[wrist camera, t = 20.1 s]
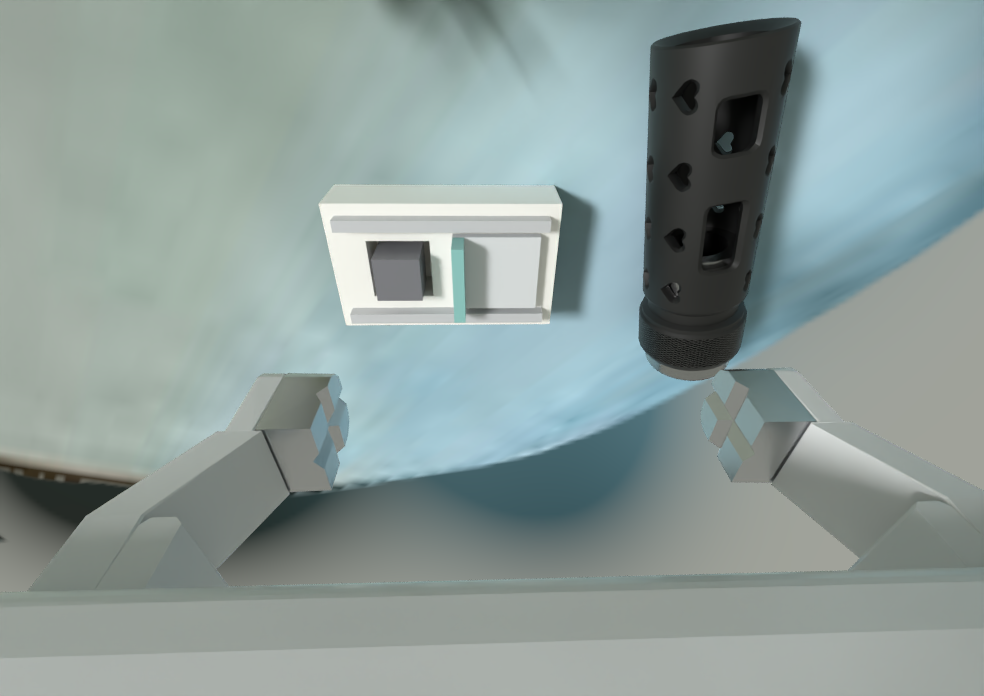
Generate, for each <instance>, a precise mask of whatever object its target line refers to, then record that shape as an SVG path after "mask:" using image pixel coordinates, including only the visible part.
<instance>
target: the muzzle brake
mask: <svg viewBox="0 0 984 696" xmlns="http://www.w3.org/2000/svg"><path fill="white" fill-rule="evenodd" d="M800 27H801V21H800V20H799V19H796V18H769V19H759V20H751V21H743V22H736V23H730V24H724V25H718V26H713V27H708V28H703V29H698V30H694V31H689V32H684V33H680V34H677V35H673V36H669V37H666V38H663V39H660V40H658V41H656V42H654V43H653V44H652V45H651V53H650V84H649V116H648V148H647V179H646V211H645V243H644V274H643V291H644V294H645V297H644V299H643V301H642V302H641V305H640V308H639V342H640V345H641V347H642V348H643V350H644V351H645V352H646V357H647V360H648V361H649V363H650V364H651V366H653V367H654V368H655V369H656V370H657V371H659V372H660V373H662V374H664V375H667V376H669V377H672V378H676V379H681V380H690V381H696V380H704V379H709V378H711V377H714V376H715V375H716V374H717V373H718V372H719V371H720V370H724V369H725V368H726V366H727V364H728V362H729V360H731V359H732V358H733V357H734V356H735V355H736V354H737V352H738V350H739V348H740V346H741V341H742V337H743V332H744V327H745V322H746V315H747V311H746V308H745V305H744V302H743V300H744V299H745V297H746V296H747V294H748V289H749V284H750V279H751V273H752V269H753V264H754V259H755V254H756V249H757V244H758V239H759V234H760V228H761V223H762V218H763V213H764V208H765V203H766V198H767V193H768V188H769V183H770V178H771V173H772V168H773V163H774V157H775V153H776V148H777V143H778V138H779V133H780V128H781V123H782V117H783V112H784V107H785V102H786V97H787V92H788V87H789V82H790V76H791V71H792V67H793V62H794V57H795V52H796V47H797V42H798V37H799V32H800ZM726 132H731V133H733V135H734V139H733V141H732V142H731V146H732V150H731V151H730V152H725V151H724V150H723V149H722V148H721V146H720V145H719V144H718V143H717V141H718V140H719V139H720V138H721V137H722V136H723V135H724V134H725V133H726ZM719 205H723V206H724V208H723V209H718V208H716V206H719Z"/></svg>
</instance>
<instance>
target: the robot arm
mask: <svg viewBox="0 0 984 696" xmlns="http://www.w3.org/2000/svg"><path fill="white" fill-rule="evenodd" d="M711 384H712V386H713V388H714V390H715V392H713V393H712V394H711V395H709V396H708V397H707V398H706V399H705V400H704V403H703V406H702V409H701V424H702V427H703V431H704V433H705V435H706V437H707V439H708V440H709V441H710V442H712V443H713V444H714V445H716V446H717V447H719V448H720V450H719V453H718V456H717V457H718V459H719V461H720V462H721V464H722V466H723V468H724V470H725V471H726V473H727V475H728V477H729V479H730V480H731V482H754V483H759V482H761V483H772V484H771V485H772V486H774V487H775V488H776V489H777V490H778V491H780V492H781V493H782V494H783V495H784V496H786V497H787V498H788V499H789V500H790V501H792V502H793V503H794V504H795V505H796V506H798V507H799V508H800V509H801V510H802V511H804V512H805V513H806V514H807V515H808V516H810V517H811V518H812V519H813V520H815V521H816V522H817V523H818V524H819V525H821V526H822V527H823V528H824V529H825V530H827V531H828V532H829V533H830V534H831V535H833V536H834V537H835V538H836V539H837V540H839V541H840V542H841V543H842V544H843V545H845V546H846V547H847V548H848V549H849V550H851V551H852V552H853V553H854V554H855V555H857V556H858V557H859V558H860V559H859V560H858V561H857V562H856V563H855V564H854V565H853V566H852V567H851V568H850V569H849V570H848V571H815V572H814V571H813V572H812V571H811V572H774V573H773V572H772V573H735V574H699V575H697V574H695V575H656V576H618V577H579V578H542V579H508V580H507V579H505V580H470V581H469V580H467V581H429V582H390V583H389V582H388V583H350V584H314V585H313V584H311V585H271V586H235V587H233V586H232V587H229V586H228V584H227V583H226V582H225V580H224V579H223V578H222V576H221V575H220V574H219V572H218V571H217V570H216V569H217V568H218V567H219V566H220V565H221V564H222V563H223V562H224V561H225V560H226V559H227V558H228V557H229V556H230V555H231V554H232V553H233V552H234V551H235V550H236V549H237V547H239V546H240V545H241V544H242V543H243V542H244V540H246V538H247V537H248V536H249V535H250V534H251V533H252V532H253V531H254V530H255V529H256V528H257V527H258V526H259V525H260V524H261V523H262V522H263V521H264V520H265V519H266V518H267V517H268V516H269V515H270V514H271V513H272V512H273V510H275V508H276V507H278V506H279V504H280V503H281V502H282V501H283V500H284V499H285V498H286V497H287V496H288V495H289V492H297V491H319V490H332V487H333V483H334V480H335V477H336V474H337V470H338V467H339V464H340V462H339V459H338V456H337V453H338V452H339V451H340V450H341V449H342V448H343V447H344V446H345V444H346V440H347V437H348V429H349V415H348V409H347V405H346V403H345V402H344V401H343V400H341V399H340V398H339V396H340V393H341V390H342V386H341V383H340V379H339V376H337V375H336V374H298V373H288V374H262V375H260V376H259V377H258V378H257V379H256V380H255V382H254V384H253V385H252V387H251V389H250V390H249V392H248V394H247V395H246V397H245V399H244V400H243V402H242V404H241V405H240V407H239V409H238V410H237V412H236V414H235V415H234V417H233V418H232V420H231V422H230V423H229V425H228V427H227V428H226V430H225V431H217V432H215V433H214V434H212V435H211V436H209V437H208V438H206V439H204V440H203V441H201V442H200V443H198V444H197V445H195V446H194V447H192V448H191V449H189V450H187V451H186V452H184V453H183V454H181V455H180V456H178V457H177V458H175V459H174V460H172V461H170V462H169V463H167V464H166V465H164V466H163V467H161V468H160V469H158V470H157V471H155V472H153V473H152V474H150V475H149V476H147V477H146V478H144V479H143V480H141V481H140V482H138V483H136V484H135V485H133V486H132V487H130V488H129V489H127V490H126V491H124V492H122V493H121V494H119V495H118V496H116V497H115V498H113V499H112V500H110V501H109V502H107V503H105V504H104V505H102V506H101V507H99V508H98V509H96V510H95V511H93V512H92V513H90V514H89V515H87V516H86V517H85V518H84V519H83V520H82V522H81V523H80V524H79V526H78V527H77V528H76V529H75V531H74V532H73V533H72V535H71V536H70V537H69V538H68V540H67V541H66V542H65V543H64V545H63V546H62V547H61V549H60V550H59V551H58V553H57V554H56V555H55V556H54V558H53V559H52V560H51V562H50V563H49V564H48V565H47V567H46V568H45V569H44V571H43V572H42V573H41V574H40V576H39V577H38V578H37V579H36V581H35V582H34V583H33V585H32V586H31V587H30V588H29V590H28V591H27V592H0V696H984V490H982V489H980V488H978V487H976V486H974V485H972V484H970V483H968V482H966V481H965V480H963V479H961V478H959V477H957V476H955V475H953V474H951V473H949V472H947V471H945V470H943V469H942V468H940V467H938V466H936V465H934V464H932V463H930V462H928V461H926V460H924V459H922V458H921V457H919V456H917V455H914V454H913V453H911V452H909V451H907V450H905V449H903V448H901V447H899V446H897V445H896V444H894V443H891V442H890V441H888V440H886V439H884V438H882V437H880V436H878V435H876V434H874V433H872V432H870V431H869V430H867V429H865V428H863V427H861V426H859V425H857V424H855V423H853V422H844V421H843V420H842V418H841V417H840V416H839V415H838V414H837V413H836V412H835V411H834V410H833V409H832V408H831V406H830V405H829V404H828V403H827V402H826V401H825V400H824V399H823V398H822V397H821V396H820V394H819V393H818V392H817V391H816V390H815V389H814V388H813V387H812V386H811V385H810V384H809V382H808V381H807V380H806V379H805V378H804V377H803V376H802V375H801V374H800V372H799V371H797V370H795V369H793V368H768V369H733V370H720V371H719V372H718V373H717V374H716V375H715V377H714V379H713V381H712V383H711Z"/></svg>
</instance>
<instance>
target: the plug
mask: <svg viewBox="0 0 984 696" xmlns="http://www.w3.org/2000/svg"><path fill="white" fill-rule="evenodd" d="M371 263H372V269H373V275H374V281H375V288H376V294H377V300H378V301H423V297H424V291H425V286H426V280H427V278H426V266H425V254H424V242H423V241H379V242H378V244H377V247H376V249H375V251H374V254H373V256H372V259H371Z"/></svg>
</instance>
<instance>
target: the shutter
mask: <svg viewBox="0 0 984 696" xmlns="http://www.w3.org/2000/svg"><path fill="white" fill-rule="evenodd" d="M540 246H541V235H540V234H453V235H452V244H451V262H452V283H453V304H454V323H466V308H535V305H536V293H537V281H538V269H539V258H540Z"/></svg>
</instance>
